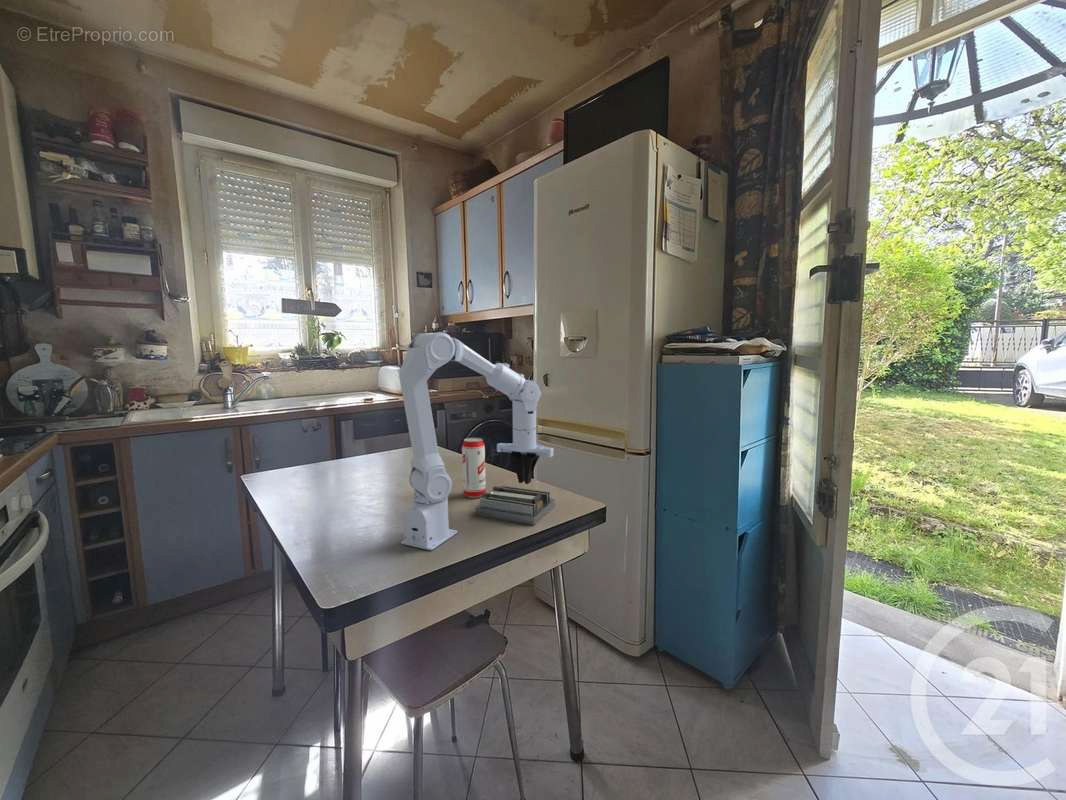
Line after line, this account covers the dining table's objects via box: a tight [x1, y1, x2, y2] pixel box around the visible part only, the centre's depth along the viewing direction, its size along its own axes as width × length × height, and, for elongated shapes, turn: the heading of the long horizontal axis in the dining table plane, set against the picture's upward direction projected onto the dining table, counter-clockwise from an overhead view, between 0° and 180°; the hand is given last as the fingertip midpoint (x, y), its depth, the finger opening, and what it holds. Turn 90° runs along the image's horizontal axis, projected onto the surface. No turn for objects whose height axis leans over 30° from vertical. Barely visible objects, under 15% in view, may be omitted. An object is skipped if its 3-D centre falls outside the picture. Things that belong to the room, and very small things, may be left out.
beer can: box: [461, 437, 487, 499], centre depth 119 cm, size 6×6×16 cm
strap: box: [489, 490, 536, 502], centre depth 108 cm, size 4×12×1 cm, turn 66°
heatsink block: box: [474, 485, 556, 526], centre depth 108 cm, size 13×16×4 cm
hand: (524, 482), depth 106 cm, fingers closed
